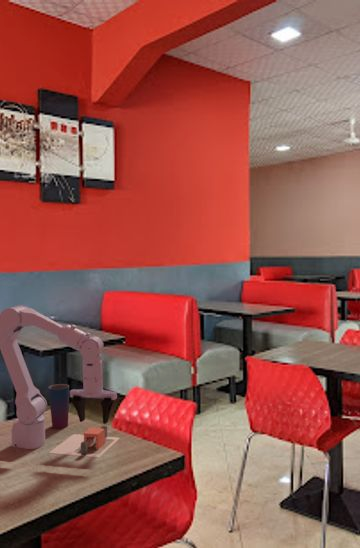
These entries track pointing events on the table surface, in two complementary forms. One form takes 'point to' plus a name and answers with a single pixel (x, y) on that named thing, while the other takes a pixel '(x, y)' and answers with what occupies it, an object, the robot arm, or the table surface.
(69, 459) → the table surface
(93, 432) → the orange u-shaped block
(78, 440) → the pink flat square base
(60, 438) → the table surface
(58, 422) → the cup
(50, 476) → the table surface
